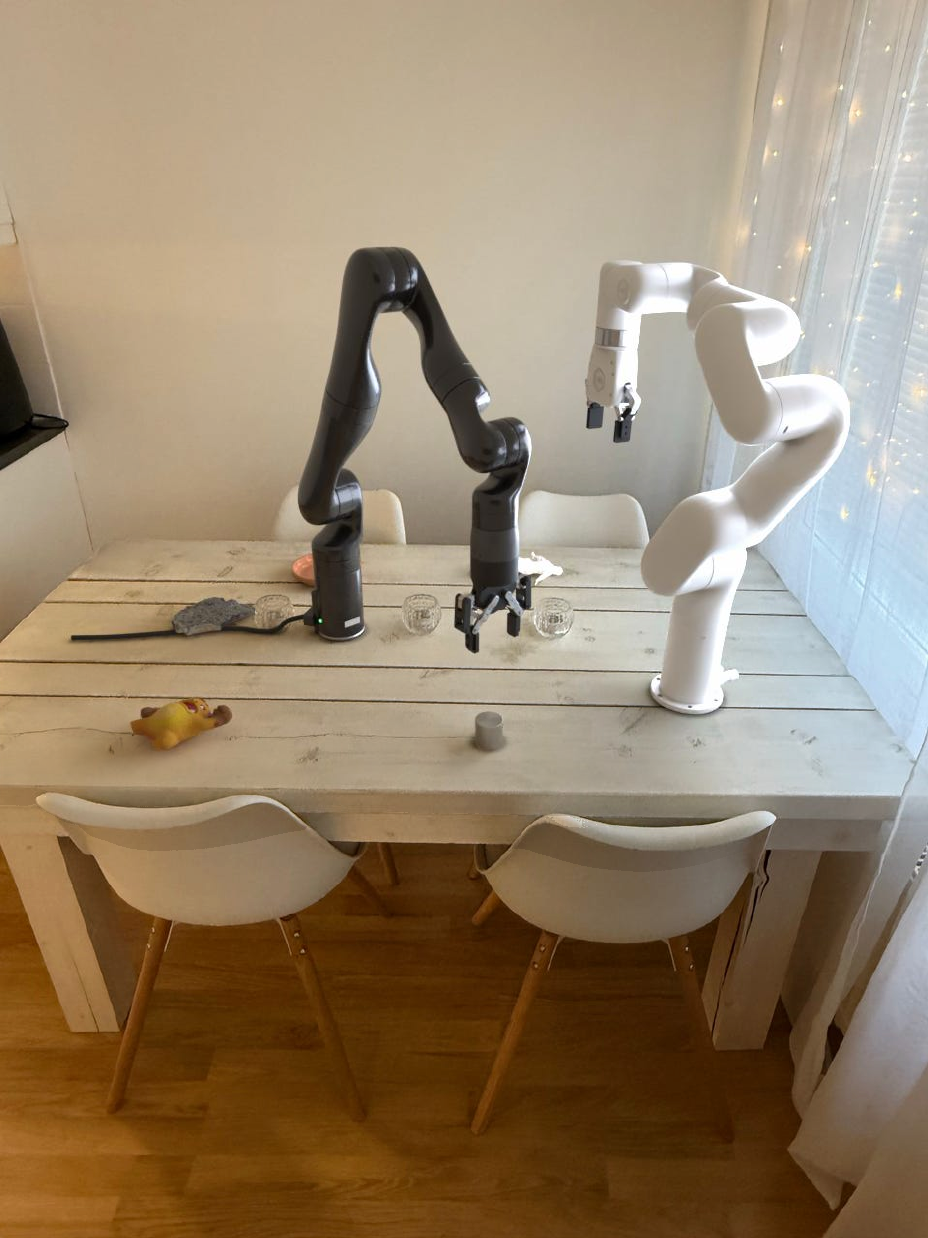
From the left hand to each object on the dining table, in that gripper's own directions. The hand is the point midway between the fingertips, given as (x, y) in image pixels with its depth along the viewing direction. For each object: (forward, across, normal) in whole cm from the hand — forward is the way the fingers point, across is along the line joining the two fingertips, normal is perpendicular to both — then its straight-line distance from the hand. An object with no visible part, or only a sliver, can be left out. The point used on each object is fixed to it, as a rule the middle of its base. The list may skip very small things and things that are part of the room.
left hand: (493, 642), depth 132 cm
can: (+15, -5, -5) cm, 16 cm away
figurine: (+14, +43, +38) cm, 59 cm away
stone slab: (+13, -23, +61) cm, 67 cm away
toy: (+14, -43, +28) cm, 53 cm away
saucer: (+13, +6, +66) cm, 67 cm away
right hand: (-25, +38, +12) cm, 47 cm away
